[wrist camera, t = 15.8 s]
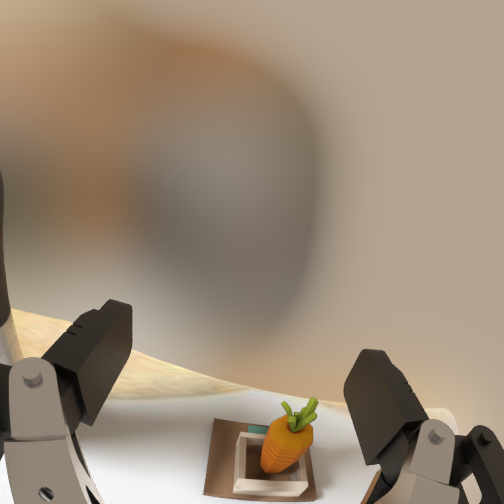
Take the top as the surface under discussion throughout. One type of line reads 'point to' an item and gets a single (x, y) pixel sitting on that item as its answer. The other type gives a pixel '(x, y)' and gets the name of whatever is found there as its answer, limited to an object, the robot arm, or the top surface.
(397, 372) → the robot arm
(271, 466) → the carrot
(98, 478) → the top surface
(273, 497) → the socket board
